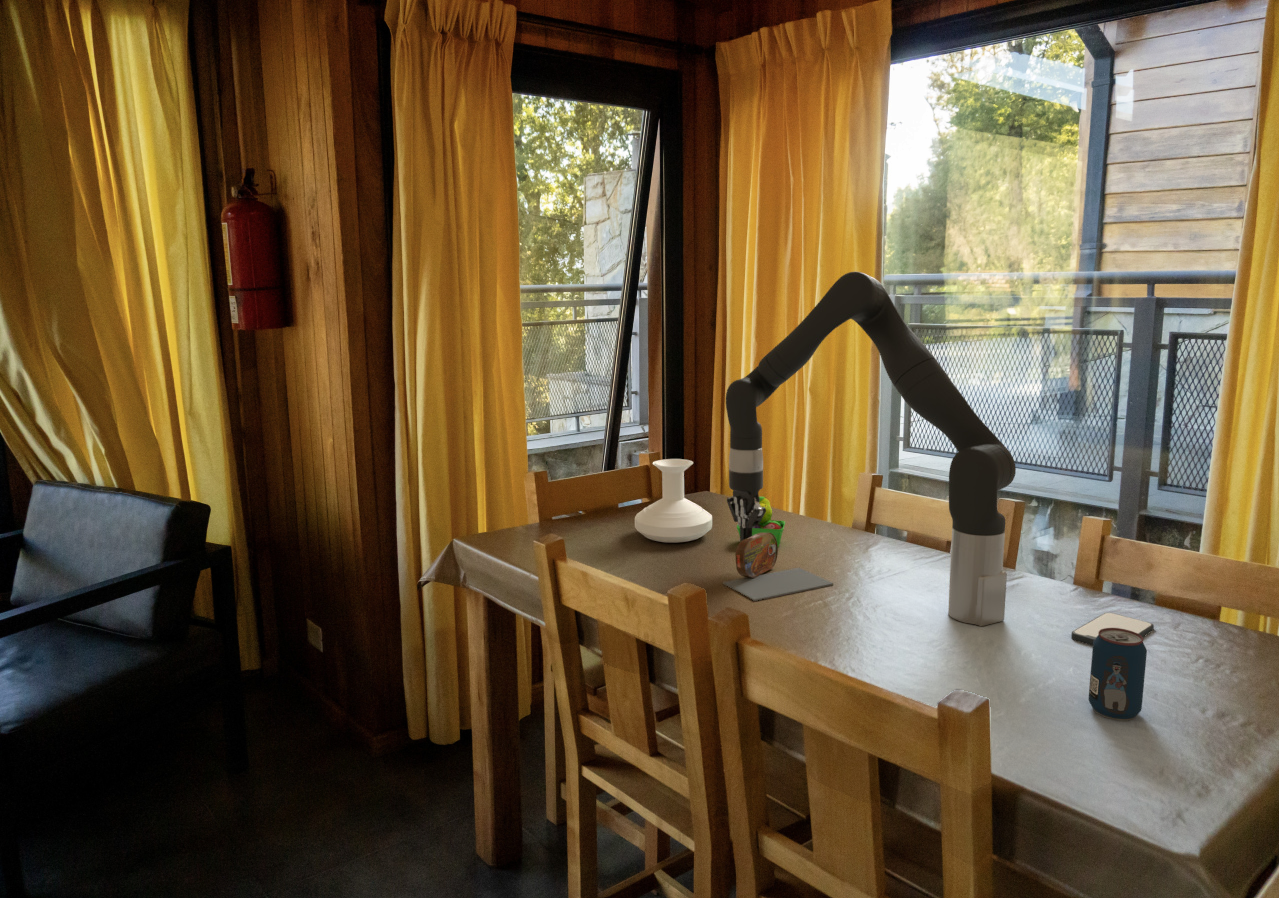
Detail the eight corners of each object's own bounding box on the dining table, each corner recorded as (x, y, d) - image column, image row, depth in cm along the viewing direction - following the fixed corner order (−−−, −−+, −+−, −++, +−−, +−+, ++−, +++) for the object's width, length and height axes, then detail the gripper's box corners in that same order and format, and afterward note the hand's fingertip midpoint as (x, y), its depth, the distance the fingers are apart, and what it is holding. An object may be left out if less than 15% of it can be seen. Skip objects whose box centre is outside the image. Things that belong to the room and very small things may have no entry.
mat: (833, 584, 186) (833, 583, 185) (754, 601, 177) (754, 599, 177) (799, 569, 196) (799, 567, 196) (723, 584, 188) (723, 582, 187)
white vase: (622, 532, 228) (620, 460, 225) (689, 522, 237) (688, 452, 233) (655, 552, 211) (654, 474, 207) (727, 541, 219) (727, 465, 215)
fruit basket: (736, 547, 214) (736, 502, 211) (740, 537, 222) (740, 493, 220) (783, 549, 211) (783, 504, 209) (785, 539, 219) (786, 495, 217)
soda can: (1123, 699, 133) (1130, 625, 131) (1151, 722, 126) (1158, 643, 124) (1078, 701, 133) (1084, 626, 131) (1104, 723, 126) (1110, 645, 124)
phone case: (1105, 618, 166) (1067, 640, 156) (1105, 610, 166) (1068, 631, 156) (1156, 632, 159) (1120, 655, 149) (1156, 623, 159) (1121, 646, 149)
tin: (745, 582, 187) (744, 543, 186) (733, 579, 189) (732, 541, 187) (779, 565, 198) (778, 529, 197) (767, 563, 200) (766, 527, 199)
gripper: (777, 471, 189) (776, 548, 193) (744, 460, 201) (743, 533, 204) (748, 475, 186) (747, 553, 189) (716, 464, 198) (716, 537, 201)
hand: (745, 542), depth 197 cm, fingers closed
